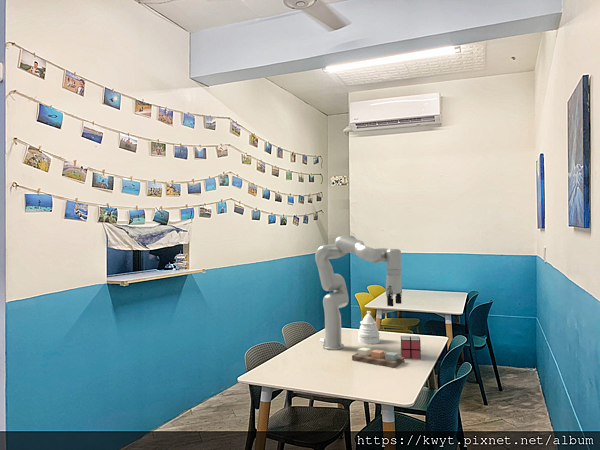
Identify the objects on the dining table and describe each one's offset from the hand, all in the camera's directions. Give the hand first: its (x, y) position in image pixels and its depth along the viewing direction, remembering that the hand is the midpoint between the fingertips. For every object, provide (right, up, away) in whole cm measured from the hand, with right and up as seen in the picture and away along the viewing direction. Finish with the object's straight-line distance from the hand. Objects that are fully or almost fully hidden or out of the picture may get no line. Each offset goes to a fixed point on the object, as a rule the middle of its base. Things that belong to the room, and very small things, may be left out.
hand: (394, 304), depth 241 cm
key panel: (-9, -29, -4) cm, 30 cm away
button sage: (-3, -26, -9) cm, 28 cm away
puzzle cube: (+9, -29, +4) cm, 30 cm away
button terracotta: (-9, -26, -4) cm, 28 cm away
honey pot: (-8, -29, +39) cm, 49 cm away
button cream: (-16, -27, +1) cm, 31 cm away
